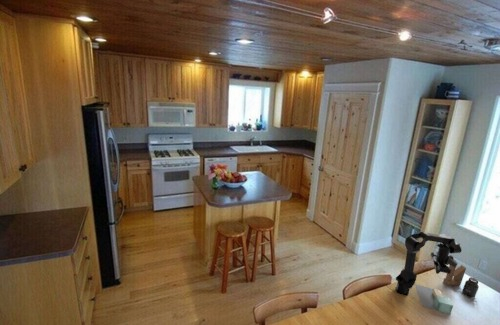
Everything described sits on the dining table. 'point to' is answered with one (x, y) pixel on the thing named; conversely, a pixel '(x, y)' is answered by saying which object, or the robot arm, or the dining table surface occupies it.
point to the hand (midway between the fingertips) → (437, 273)
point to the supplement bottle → (470, 287)
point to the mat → (426, 296)
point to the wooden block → (456, 273)
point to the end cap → (443, 304)
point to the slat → (436, 293)
